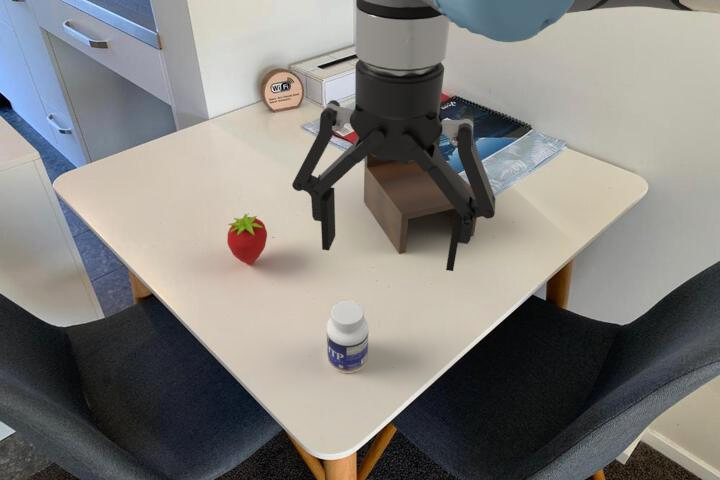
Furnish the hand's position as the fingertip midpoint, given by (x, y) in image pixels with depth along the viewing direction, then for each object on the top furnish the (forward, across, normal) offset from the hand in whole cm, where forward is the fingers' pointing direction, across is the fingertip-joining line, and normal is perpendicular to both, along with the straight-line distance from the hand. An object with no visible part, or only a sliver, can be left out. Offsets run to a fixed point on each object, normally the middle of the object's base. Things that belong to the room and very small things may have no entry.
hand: (388, 252), depth 57 cm
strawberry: (+18, +24, -13) cm, 33 cm away
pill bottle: (+18, +4, +1) cm, 19 cm away
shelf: (+18, 0, -32) cm, 37 cm away
